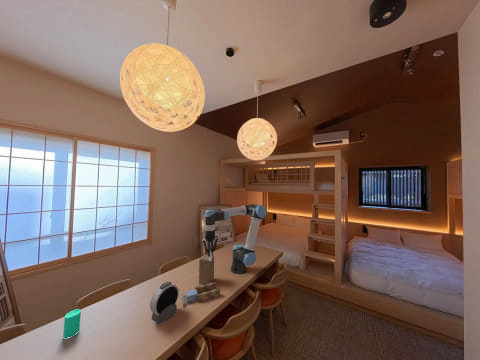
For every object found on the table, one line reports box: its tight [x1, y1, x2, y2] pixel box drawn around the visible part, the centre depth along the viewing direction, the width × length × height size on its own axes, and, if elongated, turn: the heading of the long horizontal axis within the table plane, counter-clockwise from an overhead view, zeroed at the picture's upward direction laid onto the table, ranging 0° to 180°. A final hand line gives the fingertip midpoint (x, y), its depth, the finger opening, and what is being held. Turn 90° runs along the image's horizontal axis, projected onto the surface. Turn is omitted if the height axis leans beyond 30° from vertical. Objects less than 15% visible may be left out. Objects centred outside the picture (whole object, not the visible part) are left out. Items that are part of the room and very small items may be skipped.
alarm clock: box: [149, 281, 180, 325], centre depth 98 cm, size 16×10×18 cm, turn 148°
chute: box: [180, 281, 221, 308], centre depth 115 cm, size 25×11×5 cm, turn 116°
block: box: [185, 289, 198, 303], centre depth 112 cm, size 7×6×4 cm
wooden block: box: [198, 254, 215, 285], centre depth 134 cm, size 10×10×20 cm
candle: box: [62, 308, 82, 338], centre depth 84 cm, size 6×6×12 cm
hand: (210, 260), depth 125 cm, fingers closed
